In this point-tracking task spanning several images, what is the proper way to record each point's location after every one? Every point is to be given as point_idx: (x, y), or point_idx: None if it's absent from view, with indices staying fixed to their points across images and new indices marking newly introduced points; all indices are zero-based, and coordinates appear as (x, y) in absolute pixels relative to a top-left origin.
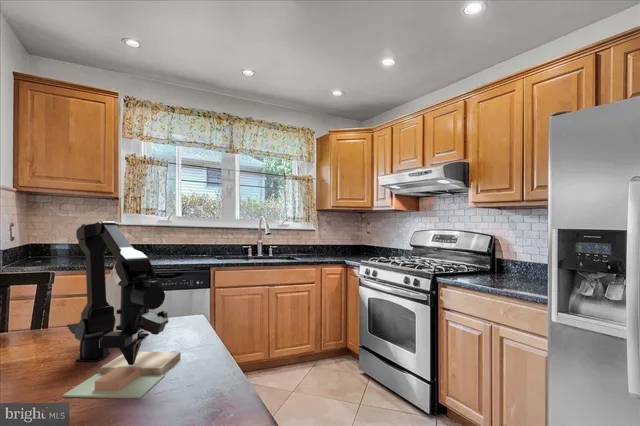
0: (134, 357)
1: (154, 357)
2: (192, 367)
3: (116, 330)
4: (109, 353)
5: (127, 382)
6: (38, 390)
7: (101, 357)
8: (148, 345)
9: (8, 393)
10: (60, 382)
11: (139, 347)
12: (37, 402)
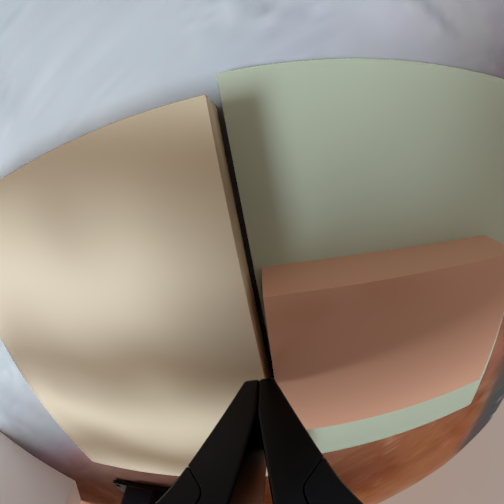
0: (267, 419)
1: (48, 324)
2: (50, 33)
3: (54, 502)
4: (118, 482)
5: (430, 250)
6: (405, 469)
7: (156, 490)
8: (8, 409)
9: (408, 485)
10: (356, 476)
11: (172, 488)
12: (478, 417)
